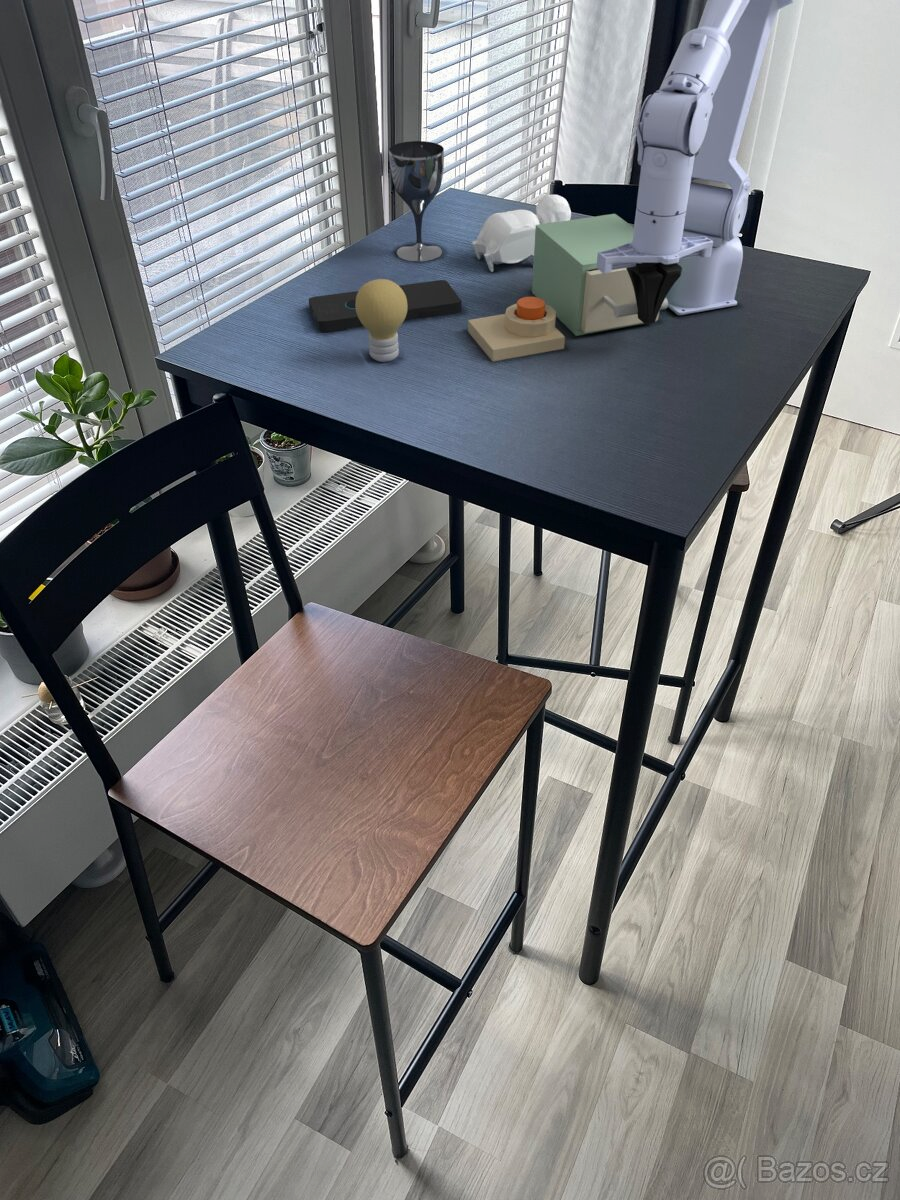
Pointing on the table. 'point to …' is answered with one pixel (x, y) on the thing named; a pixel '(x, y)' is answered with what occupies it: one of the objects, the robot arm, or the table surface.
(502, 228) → the white pig figurine
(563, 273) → the green drawer cabinet
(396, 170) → the wine glass
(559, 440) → the table surface
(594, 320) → the cream pull-out drawer
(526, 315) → the button
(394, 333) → the light bulb
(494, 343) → the control block
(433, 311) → the smart home device
